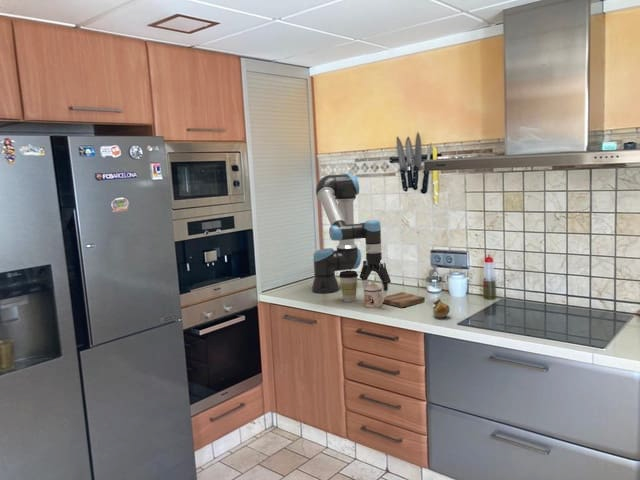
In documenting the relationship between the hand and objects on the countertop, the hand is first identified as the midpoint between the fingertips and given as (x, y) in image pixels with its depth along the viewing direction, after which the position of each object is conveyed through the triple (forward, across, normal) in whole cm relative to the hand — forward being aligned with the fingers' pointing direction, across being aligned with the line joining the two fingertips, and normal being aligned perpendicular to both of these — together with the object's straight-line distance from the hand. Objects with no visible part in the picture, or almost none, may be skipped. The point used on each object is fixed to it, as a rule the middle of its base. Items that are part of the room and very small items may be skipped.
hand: (375, 294), depth 258 cm
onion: (+6, +35, +8) cm, 36 cm away
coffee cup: (+6, -18, -2) cm, 19 cm away
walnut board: (+6, +4, +14) cm, 16 cm away
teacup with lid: (+6, 0, 0) cm, 6 cm away
